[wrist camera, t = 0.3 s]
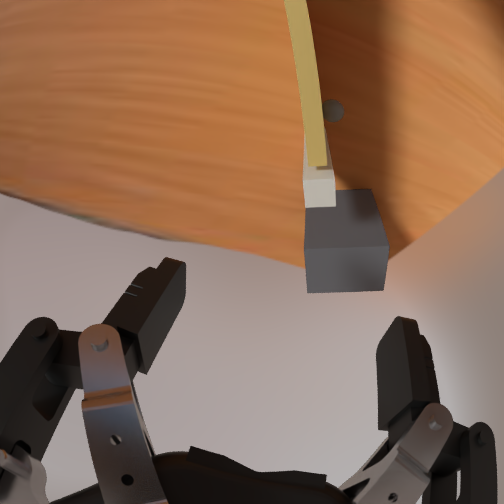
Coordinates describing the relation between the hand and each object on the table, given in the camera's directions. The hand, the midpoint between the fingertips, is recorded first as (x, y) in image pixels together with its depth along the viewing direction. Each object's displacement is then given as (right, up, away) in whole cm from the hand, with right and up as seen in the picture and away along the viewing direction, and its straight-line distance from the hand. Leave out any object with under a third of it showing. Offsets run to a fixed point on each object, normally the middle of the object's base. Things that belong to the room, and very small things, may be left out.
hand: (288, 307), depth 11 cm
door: (+4, +21, +11) cm, 24 cm away
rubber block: (+8, +7, +22) cm, 24 cm away
